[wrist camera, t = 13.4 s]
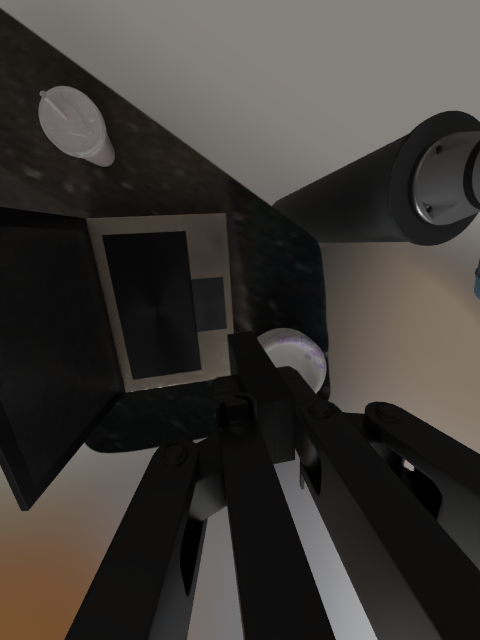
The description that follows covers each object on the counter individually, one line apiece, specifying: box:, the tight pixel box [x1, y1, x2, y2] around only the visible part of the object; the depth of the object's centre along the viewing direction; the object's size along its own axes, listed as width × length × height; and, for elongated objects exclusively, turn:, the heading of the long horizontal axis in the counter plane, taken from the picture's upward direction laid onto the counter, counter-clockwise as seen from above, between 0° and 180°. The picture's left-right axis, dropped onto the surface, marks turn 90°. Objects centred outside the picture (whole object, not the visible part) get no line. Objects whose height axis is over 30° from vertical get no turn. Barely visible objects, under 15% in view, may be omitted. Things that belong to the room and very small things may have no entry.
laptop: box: [86, 213, 234, 392], centre depth 43 cm, size 21×30×2 cm
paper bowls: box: [257, 328, 326, 393], centre depth 48 cm, size 15×15×8 cm
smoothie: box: [39, 86, 115, 167], centre depth 29 cm, size 6×6×14 cm
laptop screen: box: [0, 207, 125, 511], centre depth 31 cm, size 21×30×1 cm
